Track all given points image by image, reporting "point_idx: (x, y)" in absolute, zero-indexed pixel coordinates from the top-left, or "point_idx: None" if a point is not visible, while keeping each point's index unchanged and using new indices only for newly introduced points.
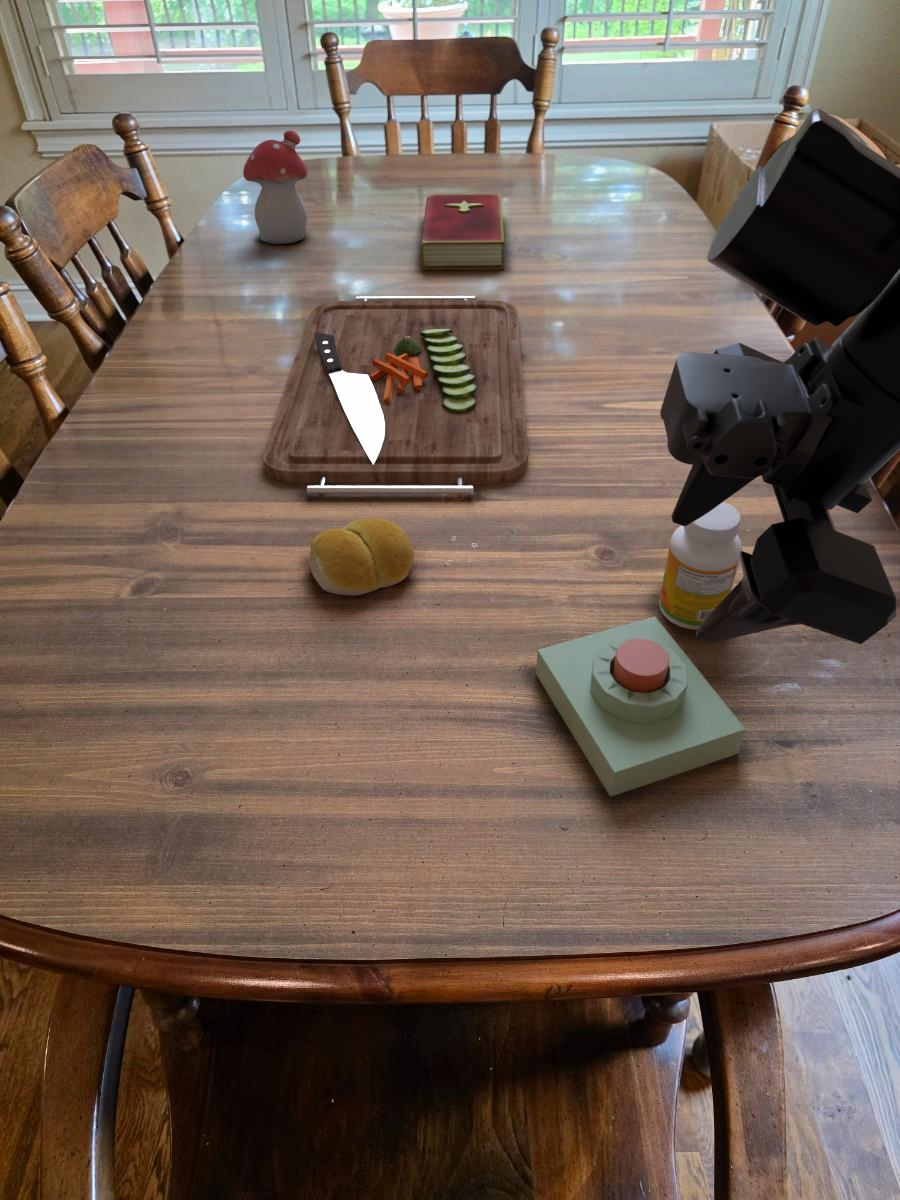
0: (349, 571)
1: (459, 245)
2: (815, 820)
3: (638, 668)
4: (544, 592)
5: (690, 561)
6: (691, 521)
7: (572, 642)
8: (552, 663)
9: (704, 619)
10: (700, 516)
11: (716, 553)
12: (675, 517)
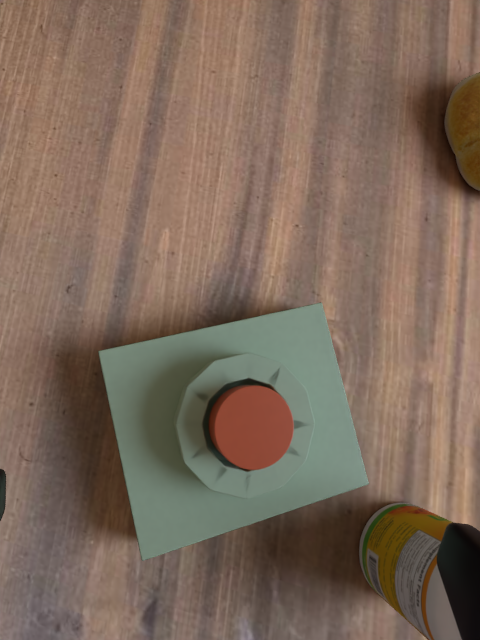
0: (473, 100)
1: None
2: (18, 617)
3: (231, 413)
4: (439, 353)
5: None
6: (446, 584)
7: (330, 352)
8: (295, 316)
9: (368, 560)
10: (457, 621)
11: None
12: (458, 534)
